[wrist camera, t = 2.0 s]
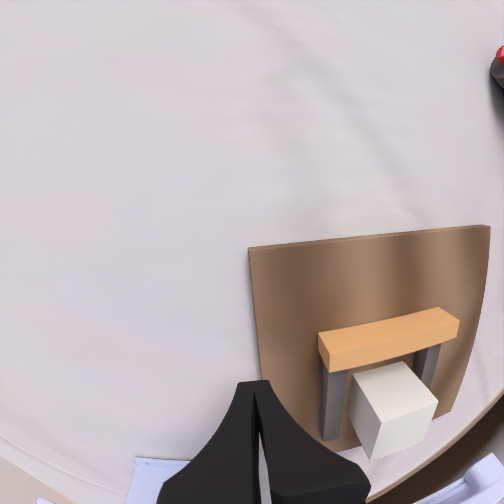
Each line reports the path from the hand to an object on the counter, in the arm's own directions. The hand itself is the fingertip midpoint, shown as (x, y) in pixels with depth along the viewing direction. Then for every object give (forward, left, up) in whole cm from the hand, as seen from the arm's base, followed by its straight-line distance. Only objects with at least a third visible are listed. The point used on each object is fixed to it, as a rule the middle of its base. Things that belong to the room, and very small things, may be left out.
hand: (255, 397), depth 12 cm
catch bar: (+8, 0, -5) cm, 10 cm away
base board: (+9, -3, -6) cm, 11 cm away
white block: (+8, -5, -5) cm, 11 cm away
